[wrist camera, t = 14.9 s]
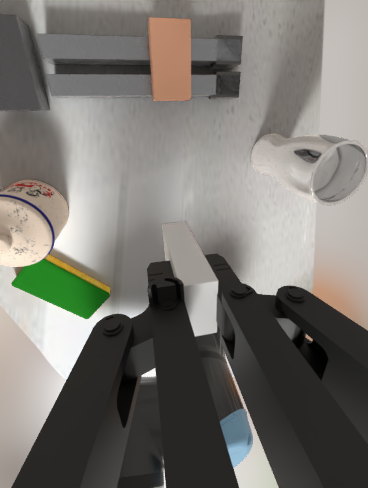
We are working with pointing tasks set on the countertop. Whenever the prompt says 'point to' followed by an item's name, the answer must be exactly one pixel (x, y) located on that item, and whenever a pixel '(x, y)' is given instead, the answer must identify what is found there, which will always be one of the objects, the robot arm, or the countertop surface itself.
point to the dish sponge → (62, 286)
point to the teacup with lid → (29, 221)
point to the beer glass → (313, 165)
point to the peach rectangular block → (170, 58)
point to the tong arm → (138, 85)
